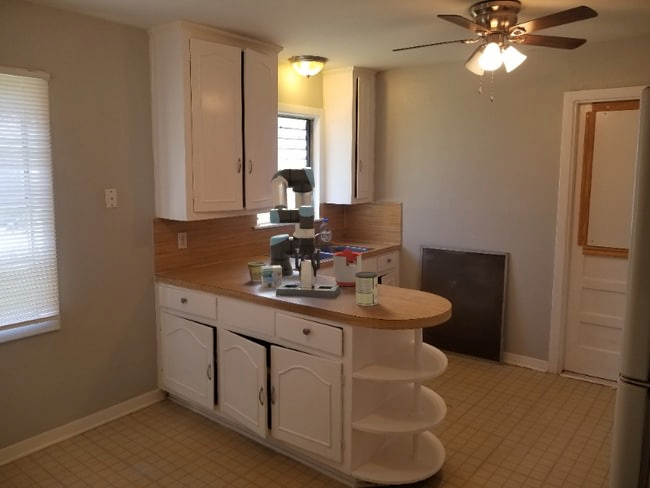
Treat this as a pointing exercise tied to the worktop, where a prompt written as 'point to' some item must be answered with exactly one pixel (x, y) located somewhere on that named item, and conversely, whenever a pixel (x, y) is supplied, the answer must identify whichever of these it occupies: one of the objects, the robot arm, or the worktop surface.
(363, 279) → the coffee can
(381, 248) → the worktop surface
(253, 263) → the ceramic cup
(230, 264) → the worktop surface
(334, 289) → the grey flat slotted block
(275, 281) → the light bulb box
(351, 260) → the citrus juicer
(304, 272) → the beige square block
